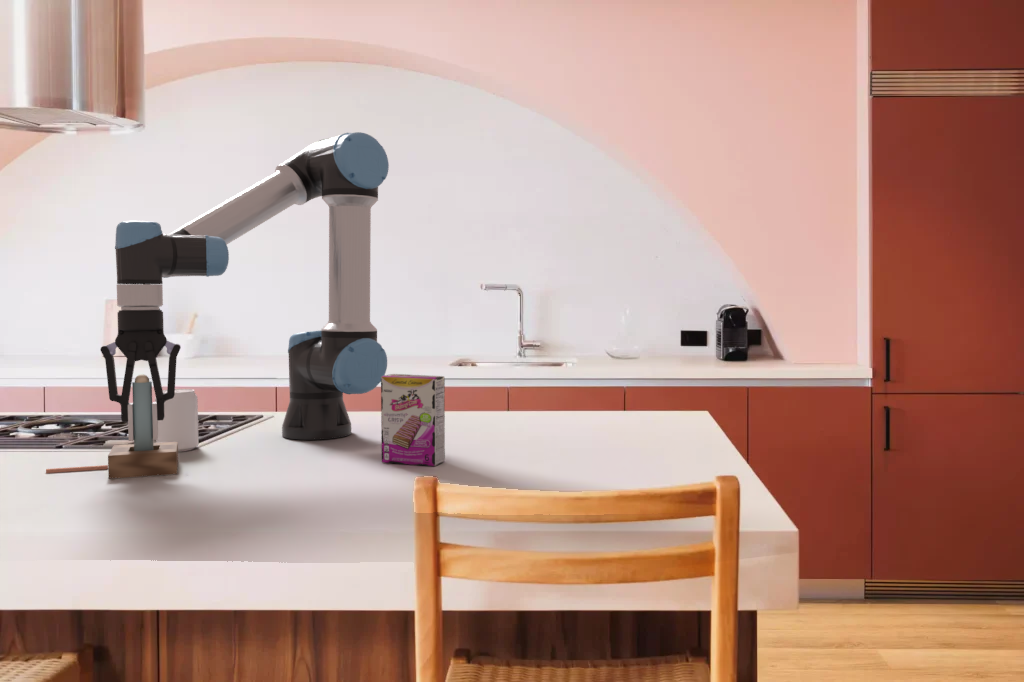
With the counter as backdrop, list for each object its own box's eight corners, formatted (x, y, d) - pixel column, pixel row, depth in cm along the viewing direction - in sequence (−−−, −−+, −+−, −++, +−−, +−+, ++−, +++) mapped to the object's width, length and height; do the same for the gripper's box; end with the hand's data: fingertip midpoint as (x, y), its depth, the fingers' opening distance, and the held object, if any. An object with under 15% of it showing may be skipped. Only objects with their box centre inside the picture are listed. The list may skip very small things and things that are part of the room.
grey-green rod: (154, 468, 162) (151, 373, 161) (153, 471, 159) (151, 374, 158) (135, 469, 161) (132, 373, 160) (134, 472, 158) (131, 375, 157)
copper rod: (108, 468, 162) (107, 465, 162) (107, 469, 161) (107, 465, 161) (46, 472, 159) (46, 468, 159) (46, 473, 158) (45, 469, 158)
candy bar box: (380, 463, 165) (379, 375, 164) (392, 458, 170) (391, 373, 169) (435, 467, 162) (434, 377, 161) (446, 462, 166) (445, 375, 165)
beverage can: (184, 453, 176) (182, 393, 176) (147, 452, 178) (146, 392, 177) (206, 446, 184) (204, 388, 184) (171, 445, 186) (169, 388, 185)
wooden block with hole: (178, 462, 167) (177, 441, 167) (176, 474, 156) (176, 451, 156) (114, 466, 163) (113, 445, 163) (108, 478, 153) (107, 455, 153)
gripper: (189, 308, 164) (192, 433, 166) (92, 308, 159) (95, 438, 160) (189, 308, 157) (191, 439, 159) (87, 309, 152) (90, 445, 153)
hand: (143, 439), depth 159 cm, fingers open, 3 cm apart
